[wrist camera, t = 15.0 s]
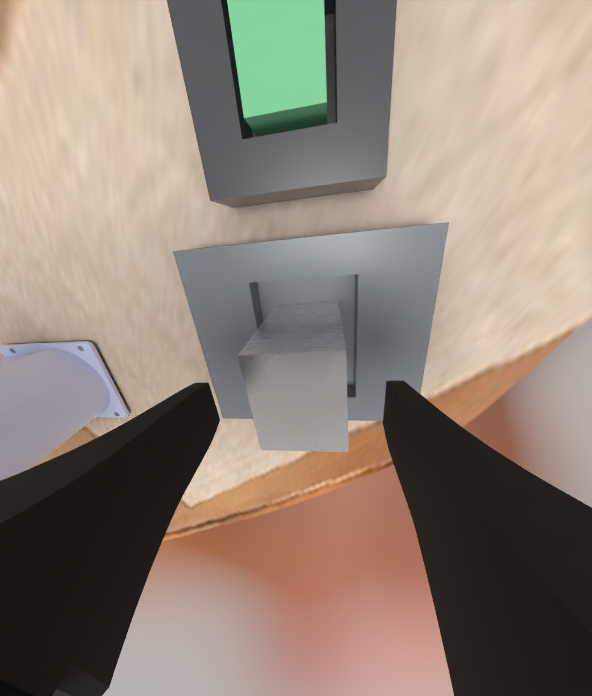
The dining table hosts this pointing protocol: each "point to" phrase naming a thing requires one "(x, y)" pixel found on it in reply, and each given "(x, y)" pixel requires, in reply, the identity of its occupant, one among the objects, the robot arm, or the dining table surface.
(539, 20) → the dining table surface
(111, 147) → the dining table surface
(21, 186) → the dining table surface
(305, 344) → the block
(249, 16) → the button
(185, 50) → the button housing
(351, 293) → the pocket plate
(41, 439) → the robot arm
